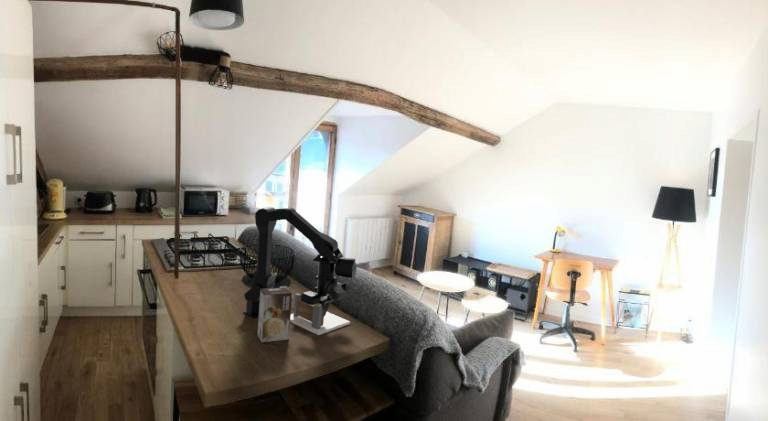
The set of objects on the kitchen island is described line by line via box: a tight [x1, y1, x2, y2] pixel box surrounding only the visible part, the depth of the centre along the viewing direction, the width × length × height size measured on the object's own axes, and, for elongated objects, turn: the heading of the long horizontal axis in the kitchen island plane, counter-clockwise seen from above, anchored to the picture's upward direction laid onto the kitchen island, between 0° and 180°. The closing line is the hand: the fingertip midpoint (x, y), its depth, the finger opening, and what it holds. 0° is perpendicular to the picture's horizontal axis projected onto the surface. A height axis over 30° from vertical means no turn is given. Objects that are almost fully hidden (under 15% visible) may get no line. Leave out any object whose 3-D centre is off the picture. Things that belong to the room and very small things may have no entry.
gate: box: [298, 300, 325, 326], centre depth 164 cm, size 2×12×6 cm, turn 51°
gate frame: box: [290, 293, 351, 336], centre depth 167 cm, size 16×18×10 cm
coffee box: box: [257, 286, 293, 343], centre depth 149 cm, size 9×6×16 cm
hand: (323, 315), depth 164 cm, fingers closed
